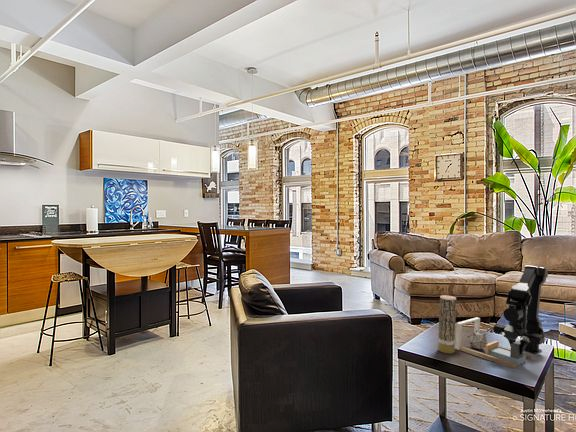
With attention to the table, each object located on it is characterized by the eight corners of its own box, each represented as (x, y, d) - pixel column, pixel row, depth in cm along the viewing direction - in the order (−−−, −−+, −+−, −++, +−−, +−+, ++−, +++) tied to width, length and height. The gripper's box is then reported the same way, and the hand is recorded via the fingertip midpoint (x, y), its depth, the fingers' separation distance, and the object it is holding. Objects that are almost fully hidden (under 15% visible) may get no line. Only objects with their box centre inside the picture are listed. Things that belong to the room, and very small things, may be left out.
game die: (474, 355, 178) (471, 334, 184) (493, 353, 173) (489, 332, 179) (466, 349, 173) (463, 328, 179) (486, 347, 168) (482, 325, 174)
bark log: (455, 354, 168) (457, 299, 167) (439, 353, 169) (441, 298, 169) (452, 349, 175) (454, 296, 174) (436, 347, 176) (438, 294, 175)
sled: (496, 351, 174) (496, 333, 174) (526, 360, 164) (527, 342, 163) (485, 355, 168) (486, 337, 168) (516, 365, 158) (517, 346, 158)
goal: (475, 341, 186) (476, 317, 186) (479, 342, 185) (480, 318, 184) (455, 348, 175) (456, 322, 175) (459, 350, 174) (460, 323, 174)
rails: (480, 343, 184) (480, 339, 184) (532, 359, 165) (532, 355, 165) (460, 350, 174) (460, 347, 174) (513, 368, 155) (514, 364, 155)
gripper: (487, 315, 165) (485, 350, 165) (535, 326, 150) (533, 365, 150) (499, 311, 171) (498, 345, 172) (546, 322, 156) (544, 359, 157)
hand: (517, 353), depth 162 cm, fingers closed on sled, 2 cm apart
